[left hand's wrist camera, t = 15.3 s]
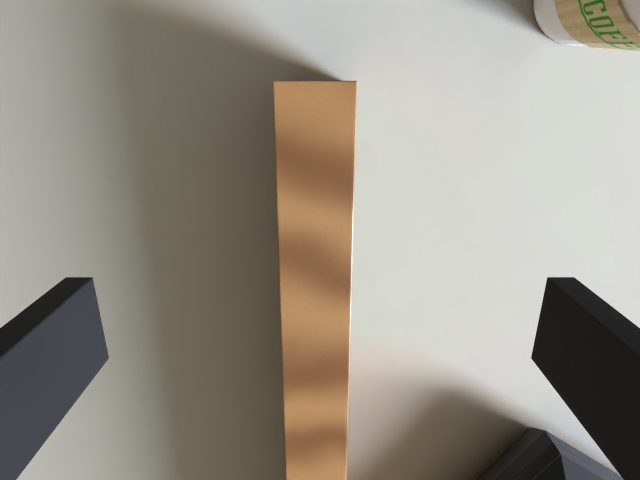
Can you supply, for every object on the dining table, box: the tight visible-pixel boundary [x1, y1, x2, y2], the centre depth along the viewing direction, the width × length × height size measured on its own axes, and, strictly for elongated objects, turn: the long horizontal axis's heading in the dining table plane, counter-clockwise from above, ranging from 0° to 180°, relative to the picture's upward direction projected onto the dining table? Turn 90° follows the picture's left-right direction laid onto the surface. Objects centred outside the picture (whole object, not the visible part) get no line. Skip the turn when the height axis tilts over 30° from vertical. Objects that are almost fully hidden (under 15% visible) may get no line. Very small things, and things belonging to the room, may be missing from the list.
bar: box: [273, 81, 357, 480], centre depth 37 cm, size 64×4×8 cm, turn 0°
